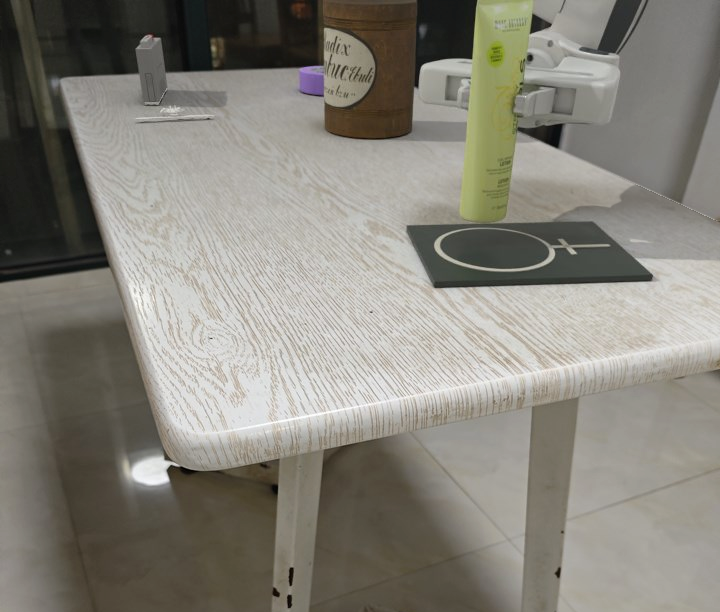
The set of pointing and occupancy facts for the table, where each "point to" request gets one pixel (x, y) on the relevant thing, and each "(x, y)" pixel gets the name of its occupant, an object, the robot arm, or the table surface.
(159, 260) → the table surface
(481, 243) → the chalkboard
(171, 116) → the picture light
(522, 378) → the table surface
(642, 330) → the table surface
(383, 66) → the wooden container
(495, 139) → the tube
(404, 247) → the table surface
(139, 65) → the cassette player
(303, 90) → the tape roll
